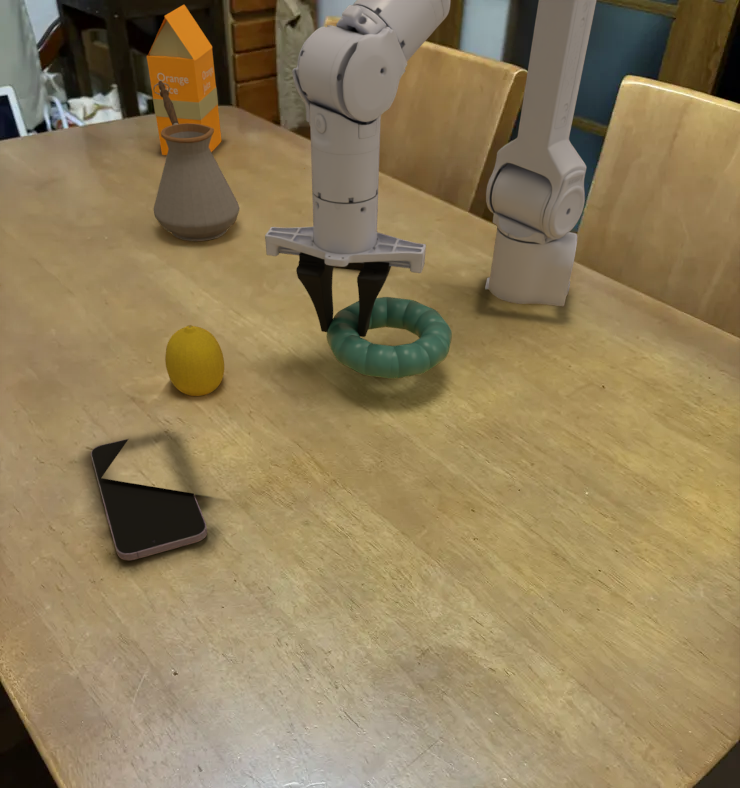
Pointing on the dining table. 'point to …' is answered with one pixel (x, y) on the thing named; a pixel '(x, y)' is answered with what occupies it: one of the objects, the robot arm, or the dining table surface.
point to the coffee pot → (192, 182)
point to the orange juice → (184, 75)
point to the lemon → (194, 361)
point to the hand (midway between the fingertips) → (345, 329)
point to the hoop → (385, 357)
